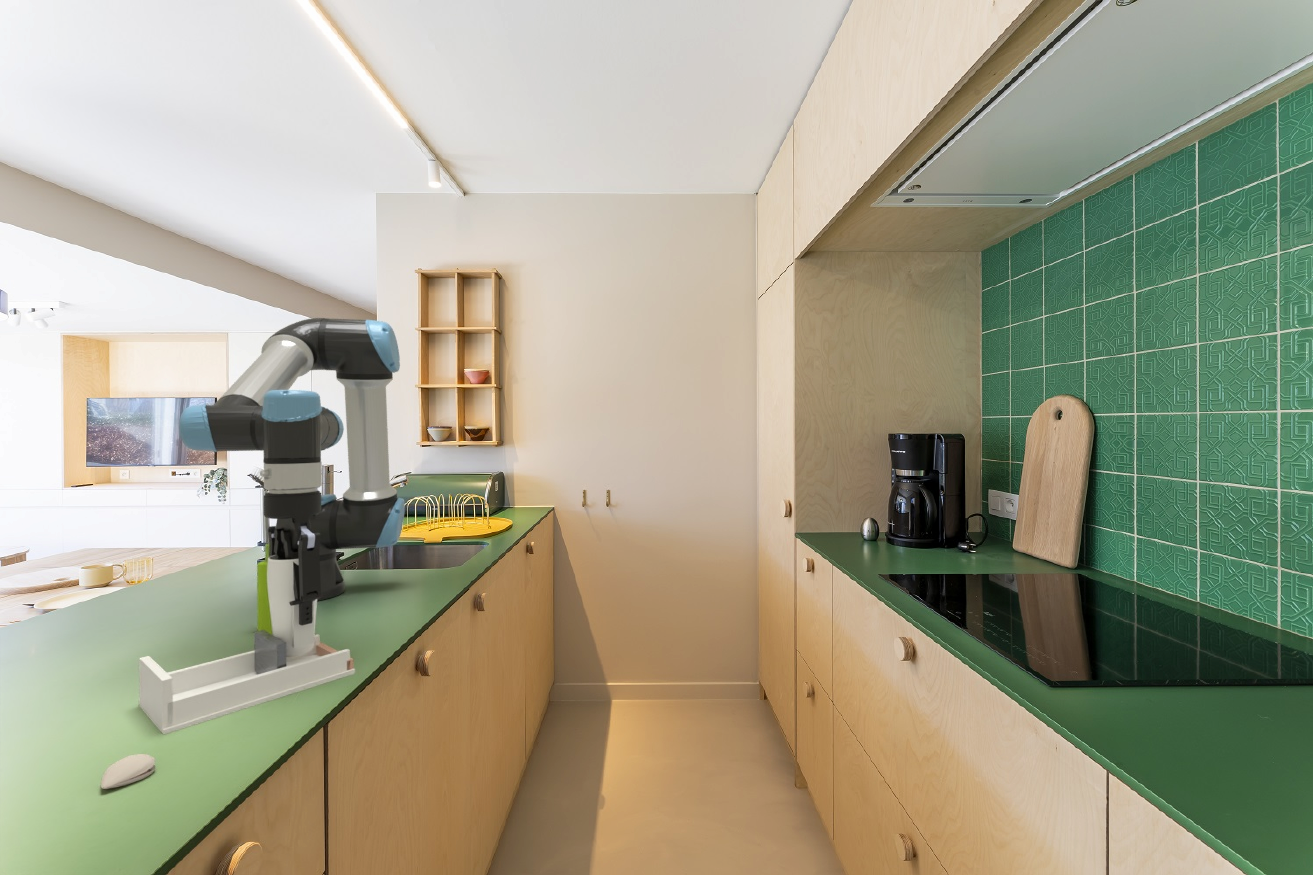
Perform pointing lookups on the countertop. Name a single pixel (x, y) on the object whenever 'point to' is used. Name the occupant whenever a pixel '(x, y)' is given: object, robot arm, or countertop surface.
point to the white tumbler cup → (283, 602)
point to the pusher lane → (231, 685)
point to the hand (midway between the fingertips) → (294, 639)
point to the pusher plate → (268, 652)
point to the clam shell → (128, 771)
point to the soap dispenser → (263, 595)
